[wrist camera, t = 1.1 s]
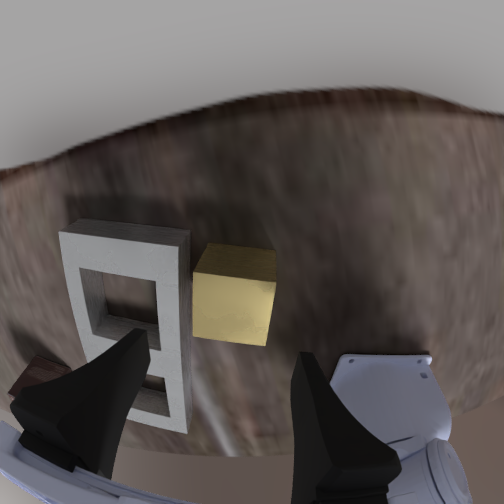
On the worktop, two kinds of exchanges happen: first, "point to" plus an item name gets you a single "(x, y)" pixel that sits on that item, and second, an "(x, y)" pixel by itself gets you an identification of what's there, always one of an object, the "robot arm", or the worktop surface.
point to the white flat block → (115, 328)
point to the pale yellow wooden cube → (234, 293)
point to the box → (37, 374)
